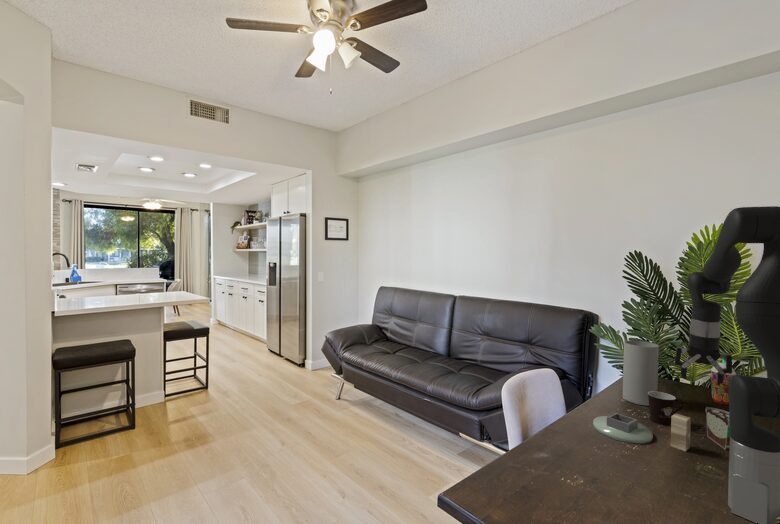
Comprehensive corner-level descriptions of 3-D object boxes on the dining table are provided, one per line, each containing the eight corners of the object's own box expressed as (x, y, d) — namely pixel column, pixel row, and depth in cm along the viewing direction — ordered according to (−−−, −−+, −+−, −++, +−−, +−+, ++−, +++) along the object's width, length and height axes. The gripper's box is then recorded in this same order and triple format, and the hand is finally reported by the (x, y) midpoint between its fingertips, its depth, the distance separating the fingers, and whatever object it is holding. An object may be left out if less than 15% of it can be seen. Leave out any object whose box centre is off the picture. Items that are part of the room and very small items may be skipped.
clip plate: (639, 448, 121) (639, 435, 121) (583, 427, 135) (583, 415, 135) (661, 434, 131) (661, 421, 131) (607, 416, 146) (607, 404, 146)
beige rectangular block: (685, 451, 120) (686, 420, 119) (670, 446, 123) (671, 416, 123) (689, 448, 122) (690, 417, 122) (675, 442, 125) (675, 413, 125)
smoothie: (705, 400, 164) (706, 355, 164) (715, 397, 167) (717, 353, 167) (729, 407, 156) (730, 360, 156) (739, 404, 160) (740, 358, 160)
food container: (751, 454, 118) (752, 423, 118) (728, 452, 120) (729, 421, 119) (724, 436, 130) (725, 408, 130) (704, 434, 132) (705, 406, 132)
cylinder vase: (627, 404, 158) (629, 345, 158) (618, 394, 170) (620, 339, 170) (661, 408, 155) (663, 348, 154) (650, 397, 166) (652, 341, 166)
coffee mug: (648, 423, 140) (649, 396, 140) (645, 414, 147) (646, 389, 147) (687, 430, 134) (688, 403, 134) (682, 421, 142) (682, 395, 142)
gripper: (677, 332, 122) (674, 380, 124) (736, 340, 114) (732, 390, 115) (676, 327, 128) (673, 372, 130) (732, 333, 120) (728, 382, 121)
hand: (701, 381), depth 122 cm, fingers open, 8 cm apart
